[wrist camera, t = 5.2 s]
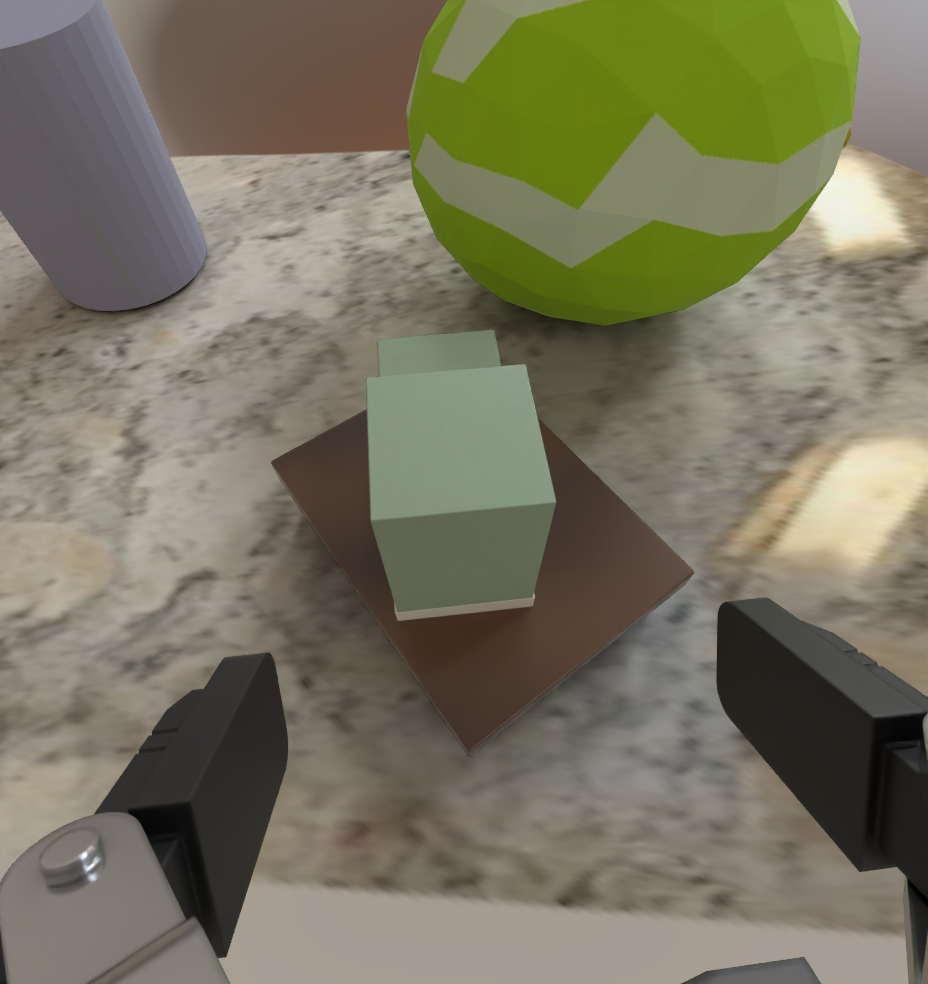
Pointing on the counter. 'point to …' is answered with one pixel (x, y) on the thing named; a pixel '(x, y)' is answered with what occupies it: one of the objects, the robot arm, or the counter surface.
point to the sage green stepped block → (456, 476)
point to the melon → (626, 143)
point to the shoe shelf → (501, 633)
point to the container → (88, 161)
